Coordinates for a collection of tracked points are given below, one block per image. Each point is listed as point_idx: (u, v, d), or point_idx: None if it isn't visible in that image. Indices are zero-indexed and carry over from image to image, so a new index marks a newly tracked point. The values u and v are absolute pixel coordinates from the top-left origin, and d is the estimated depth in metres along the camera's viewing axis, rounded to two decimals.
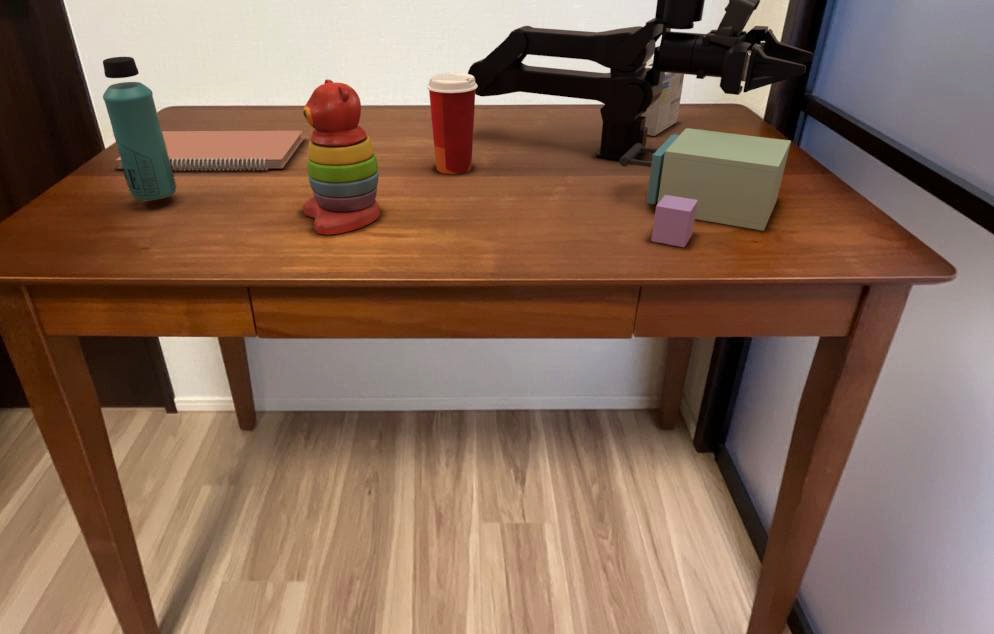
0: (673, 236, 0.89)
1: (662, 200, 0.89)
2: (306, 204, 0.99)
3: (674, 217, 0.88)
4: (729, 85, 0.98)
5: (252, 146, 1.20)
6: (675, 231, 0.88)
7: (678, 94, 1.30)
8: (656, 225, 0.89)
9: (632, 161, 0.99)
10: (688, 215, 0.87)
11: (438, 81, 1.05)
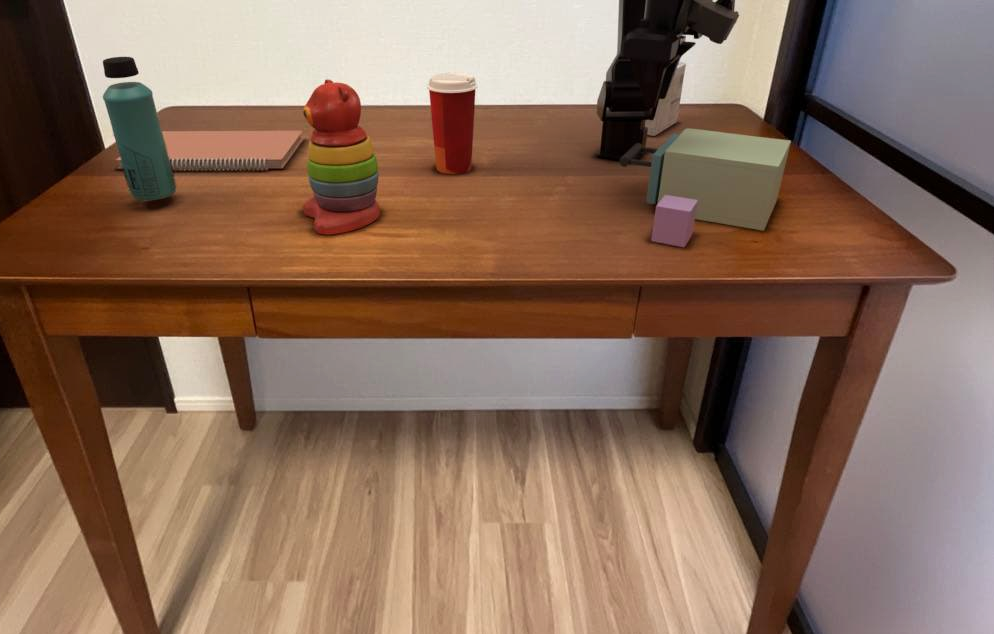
0: (673, 236, 0.89)
1: (662, 200, 0.89)
2: (306, 204, 0.99)
3: (674, 217, 0.88)
4: (630, 45, 0.86)
5: (252, 146, 1.20)
6: (675, 231, 0.88)
7: (678, 94, 1.30)
8: (656, 225, 0.89)
9: (632, 161, 0.99)
10: (688, 215, 0.87)
11: (438, 81, 1.05)
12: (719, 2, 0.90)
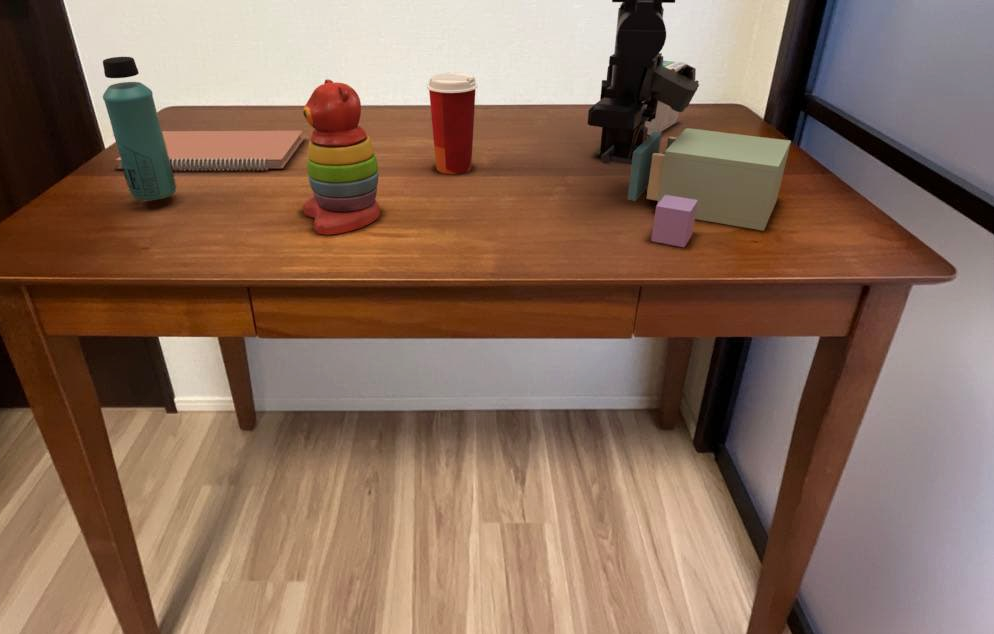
0: (673, 236, 0.89)
1: (662, 200, 0.89)
2: (306, 204, 0.99)
3: (674, 217, 0.88)
4: (596, 115, 0.92)
5: (252, 146, 1.20)
6: (675, 231, 0.88)
7: None
8: (656, 225, 0.89)
9: (613, 158, 1.00)
10: (688, 215, 0.87)
11: (438, 81, 1.05)
12: (680, 72, 0.96)
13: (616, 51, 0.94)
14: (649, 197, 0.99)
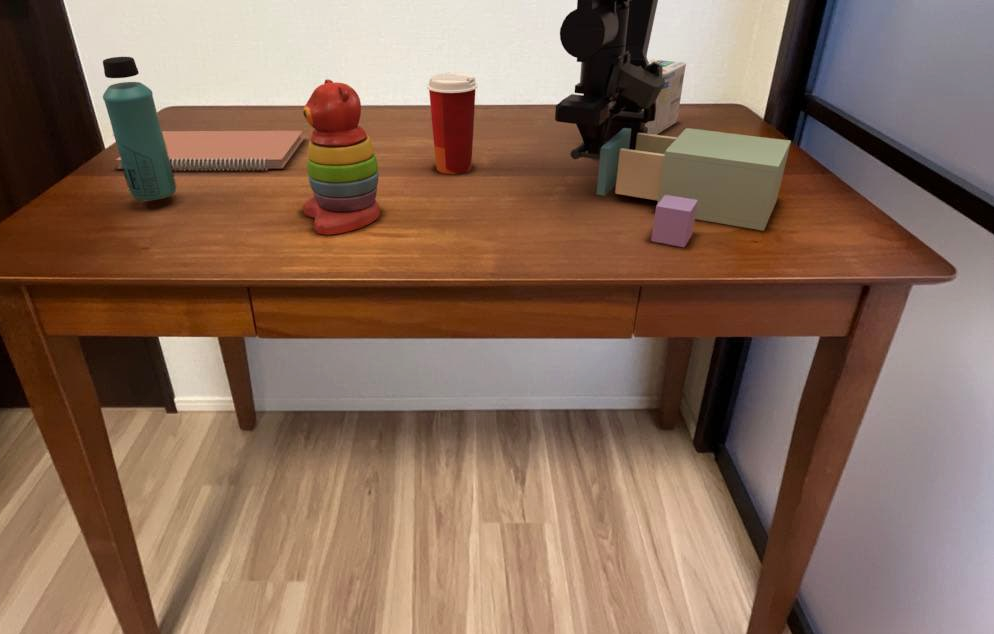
0: (673, 236, 0.89)
1: (662, 200, 0.89)
2: (306, 204, 0.99)
3: (674, 217, 0.88)
4: (563, 111, 0.94)
5: (252, 146, 1.20)
6: (675, 231, 0.88)
7: (678, 94, 1.30)
8: (656, 225, 0.89)
9: (583, 154, 1.02)
10: (688, 215, 0.87)
11: (438, 81, 1.05)
12: (647, 69, 0.98)
13: None
14: (617, 192, 1.01)
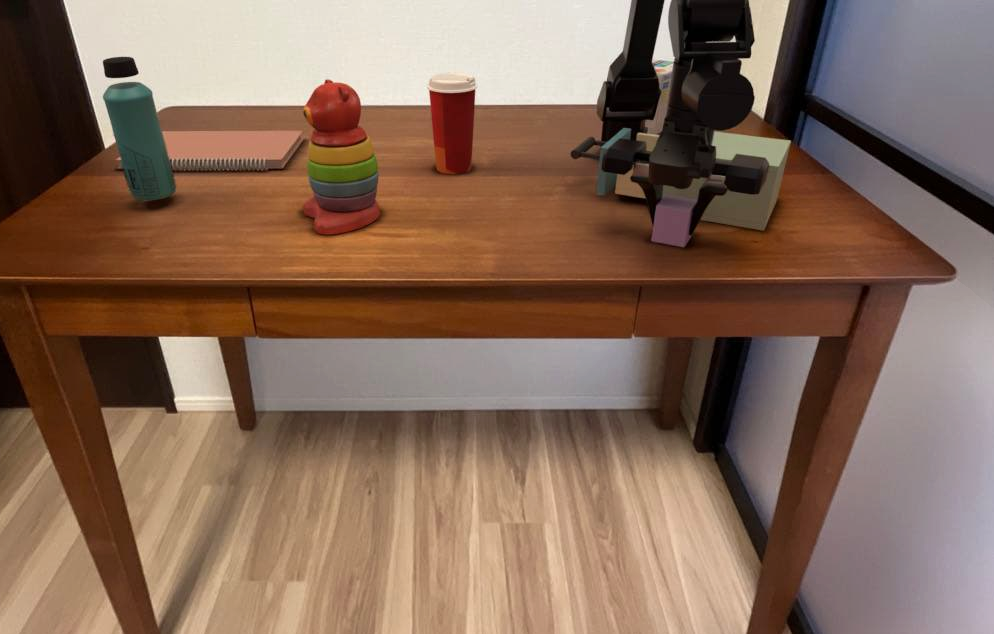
0: (673, 236, 0.89)
1: (662, 200, 0.89)
2: (306, 204, 0.99)
3: (674, 217, 0.88)
4: None
5: (252, 146, 1.20)
6: (675, 231, 0.88)
7: None
8: (656, 225, 0.89)
9: (582, 154, 1.02)
10: (688, 215, 0.87)
11: (438, 81, 1.05)
12: (698, 149, 0.79)
13: None
14: (617, 192, 1.01)
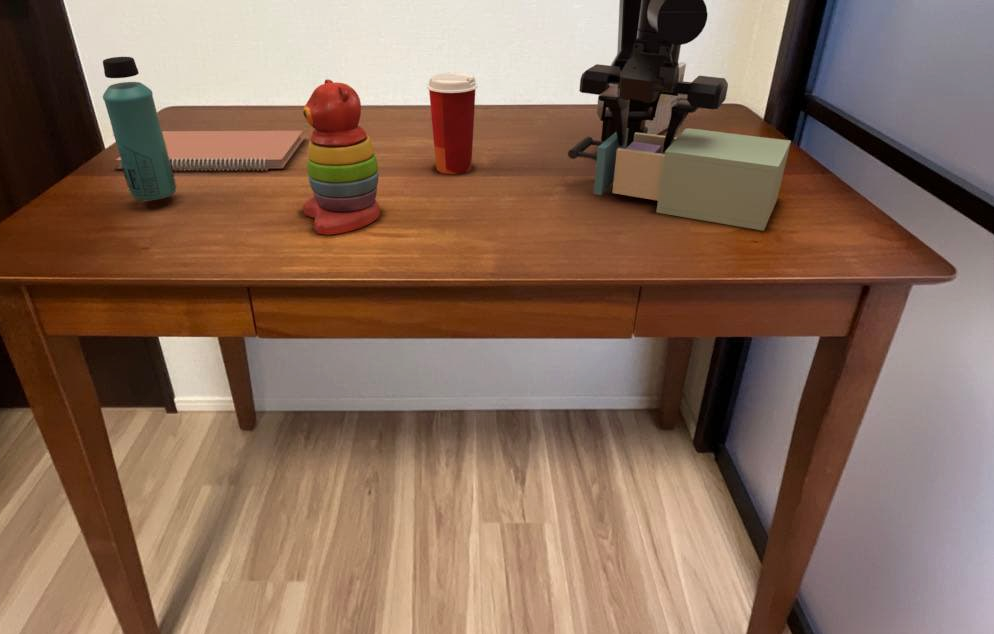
0: None
1: (630, 145, 1.01)
2: (306, 204, 0.99)
3: None
4: None
5: (252, 146, 1.20)
6: None
7: None
8: None
9: (580, 153, 1.02)
10: None
11: (438, 81, 1.05)
12: None
13: None
14: (615, 191, 1.01)
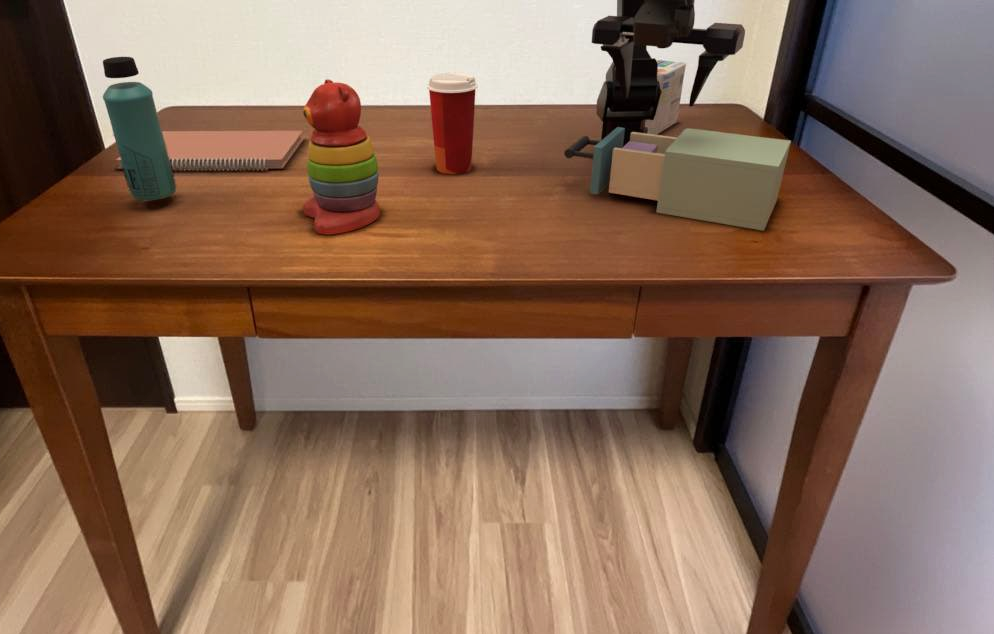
0: None
1: (626, 145, 1.02)
2: (306, 204, 0.99)
3: None
4: None
5: (252, 146, 1.20)
6: None
7: (678, 94, 1.30)
8: None
9: (576, 153, 1.02)
10: None
11: (438, 81, 1.05)
12: None
13: None
14: (611, 191, 1.01)
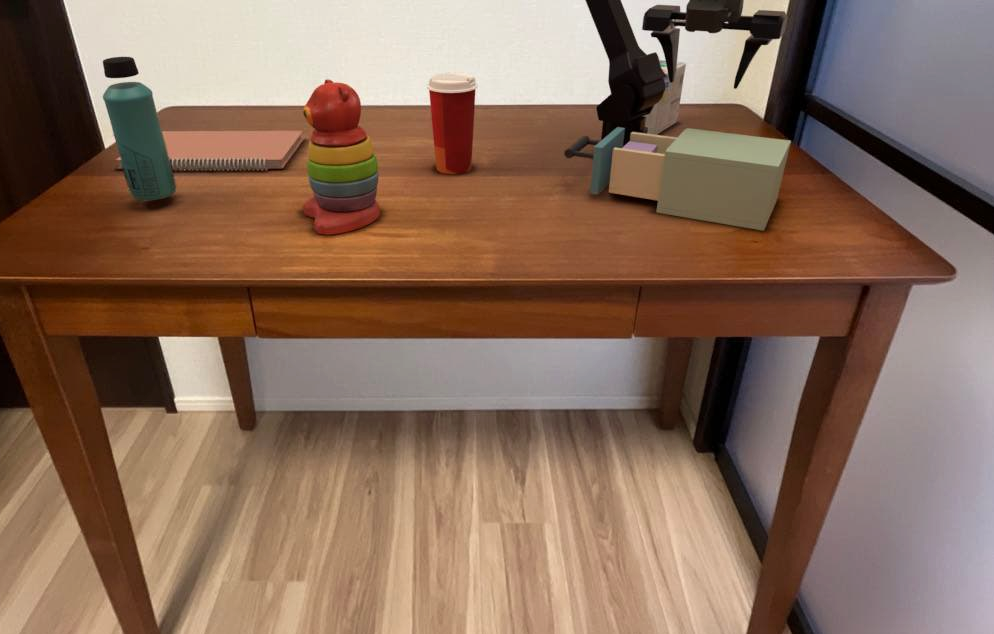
0: None
1: (626, 145, 1.02)
2: (306, 204, 0.99)
3: None
4: None
5: (252, 146, 1.20)
6: None
7: (678, 94, 1.30)
8: None
9: (576, 153, 1.02)
10: None
11: (438, 81, 1.05)
12: None
13: None
14: (611, 191, 1.01)
